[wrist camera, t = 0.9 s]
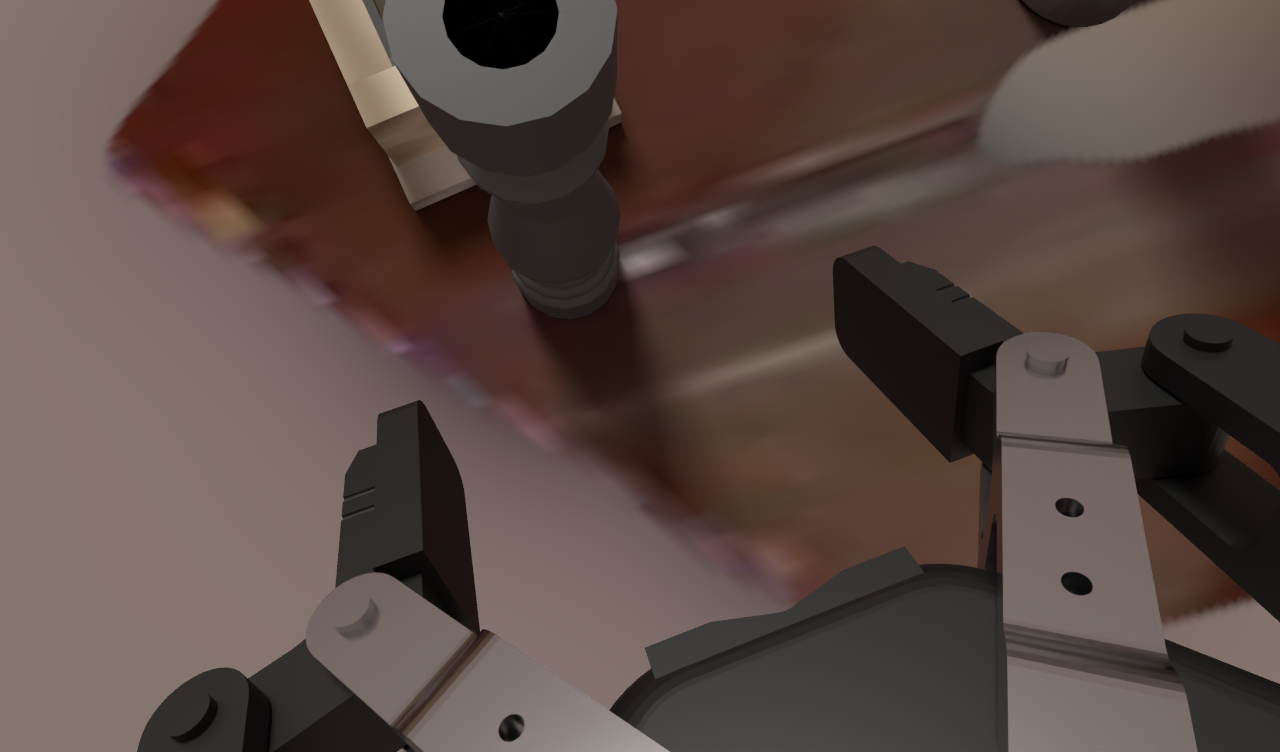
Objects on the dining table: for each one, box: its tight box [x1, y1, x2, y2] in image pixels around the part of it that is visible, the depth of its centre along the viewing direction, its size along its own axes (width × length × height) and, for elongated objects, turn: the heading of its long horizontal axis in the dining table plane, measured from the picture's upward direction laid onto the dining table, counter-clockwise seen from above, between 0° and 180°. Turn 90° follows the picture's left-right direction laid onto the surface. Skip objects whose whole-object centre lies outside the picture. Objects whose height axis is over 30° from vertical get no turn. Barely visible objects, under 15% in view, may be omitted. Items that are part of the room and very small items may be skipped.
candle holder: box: [382, 0, 620, 320], centre depth 29 cm, size 6×6×25 cm
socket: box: [309, 0, 622, 211], centre depth 40 cm, size 14×18×6 cm
